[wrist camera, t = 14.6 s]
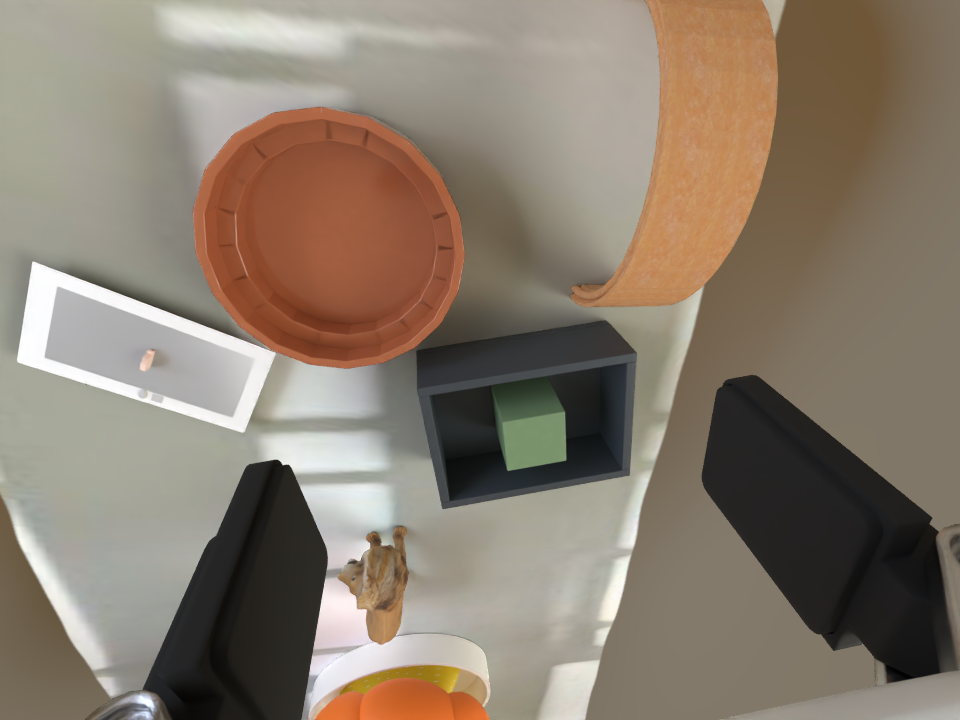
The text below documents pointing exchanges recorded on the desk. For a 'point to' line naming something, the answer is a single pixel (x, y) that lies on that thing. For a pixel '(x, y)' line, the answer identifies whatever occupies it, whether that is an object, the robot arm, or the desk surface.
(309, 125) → the bowl
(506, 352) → the bin
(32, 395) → the desk surface
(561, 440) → the block
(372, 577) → the lion figurine
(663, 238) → the arch
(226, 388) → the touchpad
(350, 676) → the potted cactus
